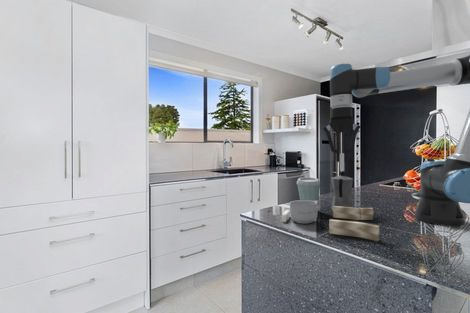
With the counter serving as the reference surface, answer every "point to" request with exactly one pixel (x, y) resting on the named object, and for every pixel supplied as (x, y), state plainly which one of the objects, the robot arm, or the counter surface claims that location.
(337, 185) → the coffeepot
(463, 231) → the counter surface
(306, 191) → the disposable coffee cup
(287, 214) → the bumper
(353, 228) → the channel
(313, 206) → the teacup
